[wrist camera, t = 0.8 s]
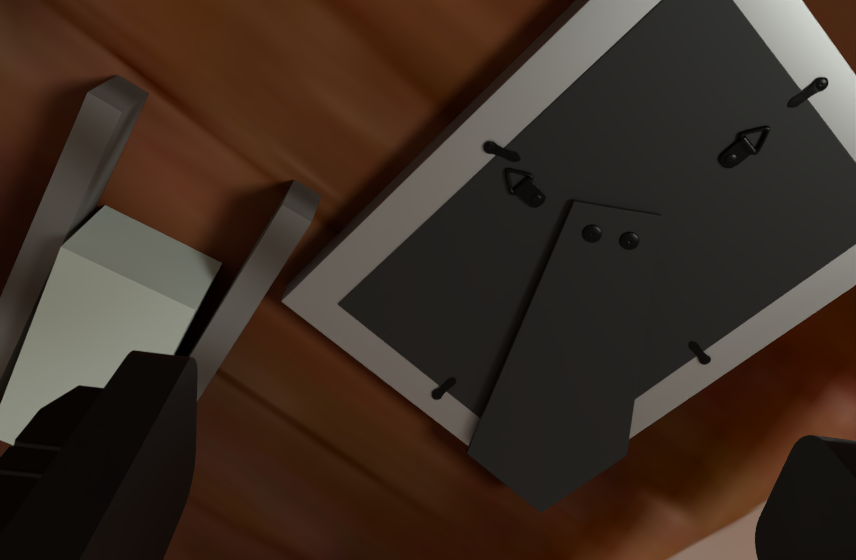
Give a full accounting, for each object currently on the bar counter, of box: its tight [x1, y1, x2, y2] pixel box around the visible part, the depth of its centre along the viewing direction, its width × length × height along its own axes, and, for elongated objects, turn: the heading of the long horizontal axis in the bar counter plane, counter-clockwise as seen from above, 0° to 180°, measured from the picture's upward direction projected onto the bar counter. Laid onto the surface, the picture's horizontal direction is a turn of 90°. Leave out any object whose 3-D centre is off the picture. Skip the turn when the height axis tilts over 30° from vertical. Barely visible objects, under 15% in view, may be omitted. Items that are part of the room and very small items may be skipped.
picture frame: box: [281, 0, 856, 513], centre depth 28 cm, size 16×3×21 cm
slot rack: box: [0, 75, 321, 401], centre depth 28 cm, size 16×8×2 cm, turn 146°
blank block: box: [0, 205, 222, 445], centre depth 29 cm, size 10×5×4 cm, turn 149°
